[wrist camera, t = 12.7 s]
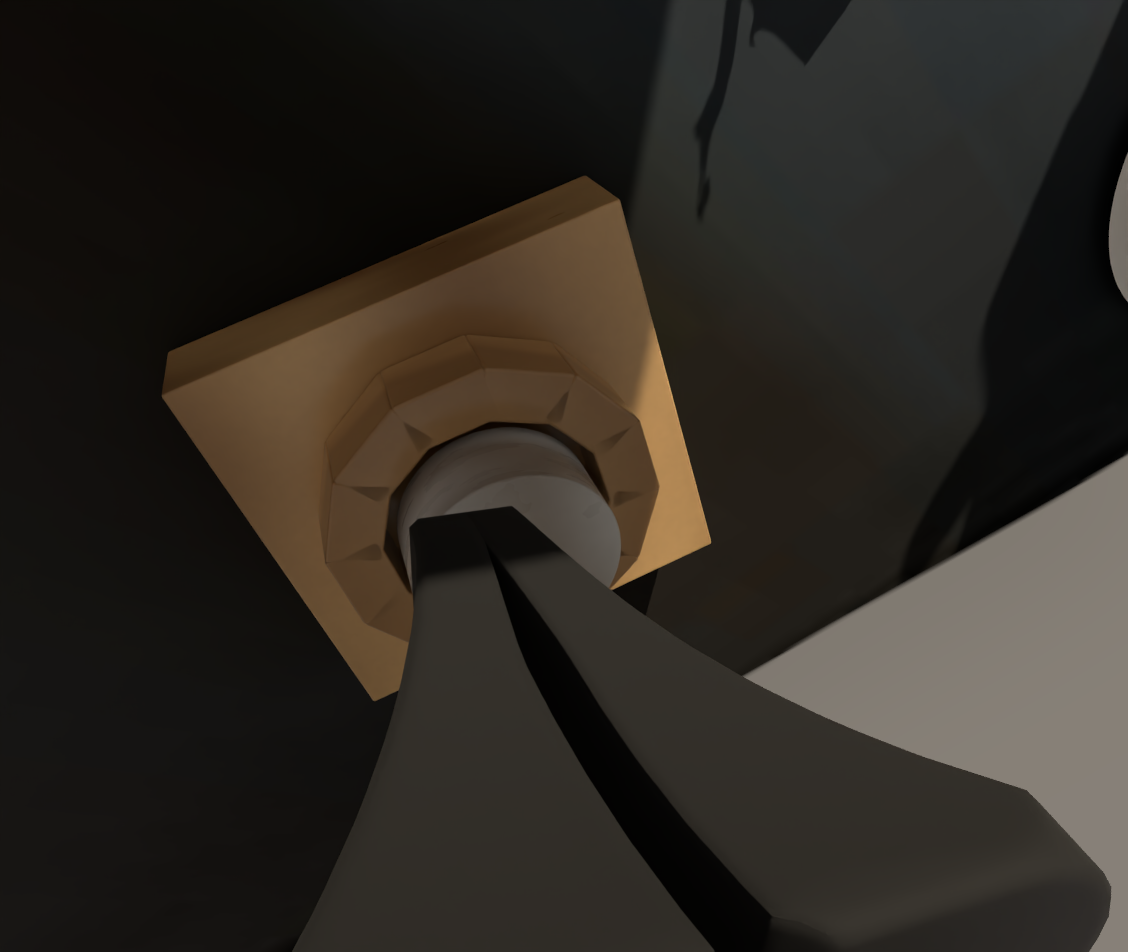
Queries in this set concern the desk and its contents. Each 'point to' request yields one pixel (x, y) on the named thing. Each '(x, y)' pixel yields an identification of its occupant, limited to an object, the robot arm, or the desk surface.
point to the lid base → (440, 403)
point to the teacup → (1120, 232)
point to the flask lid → (517, 493)
